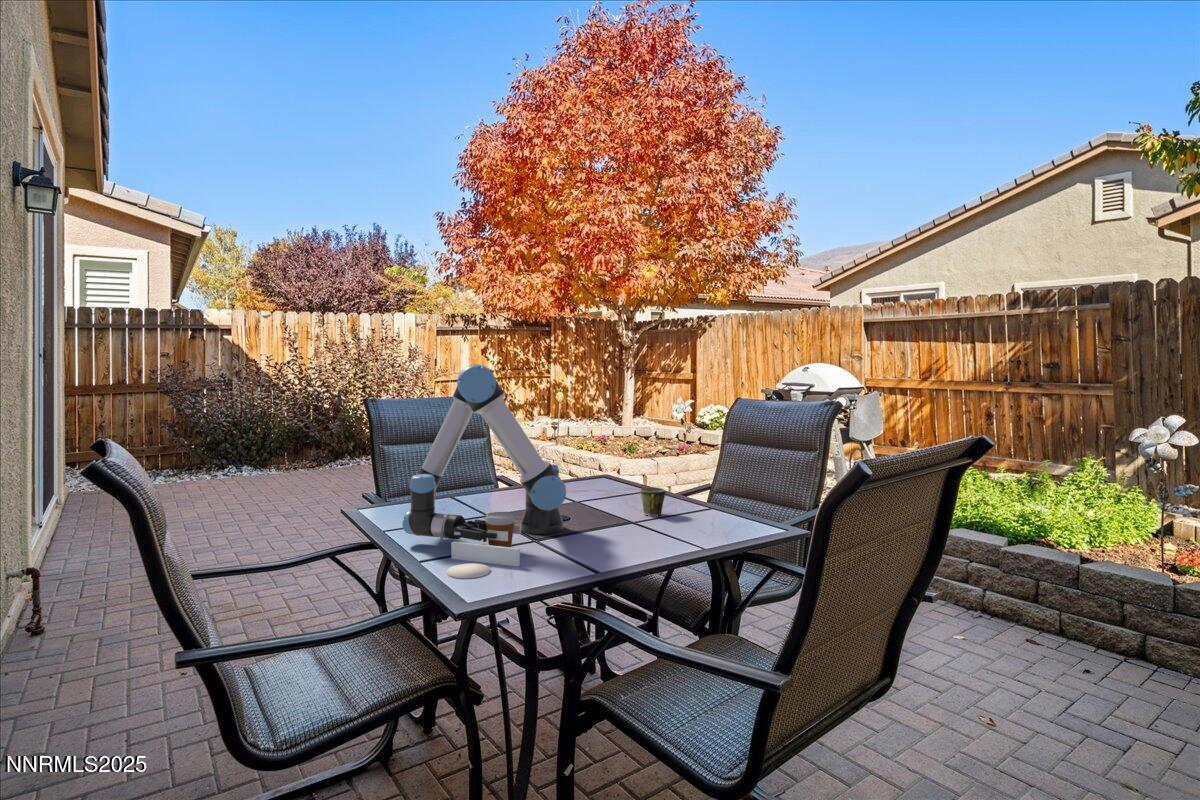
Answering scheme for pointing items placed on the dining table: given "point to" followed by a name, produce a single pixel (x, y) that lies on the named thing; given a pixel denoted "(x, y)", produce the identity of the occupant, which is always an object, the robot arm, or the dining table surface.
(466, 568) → the mat
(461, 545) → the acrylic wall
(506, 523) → the disposable coffee cup
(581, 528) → the dining table surface
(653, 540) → the dining table surface
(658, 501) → the ceramic cup
